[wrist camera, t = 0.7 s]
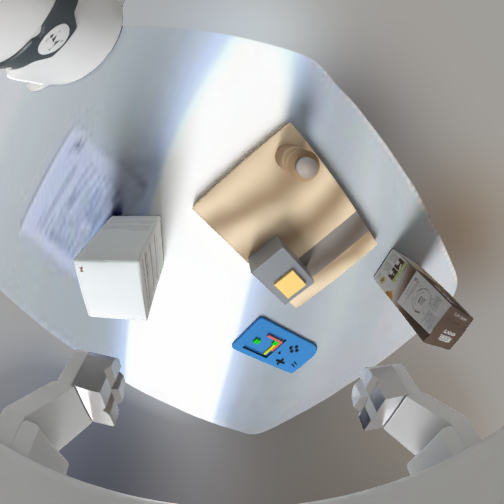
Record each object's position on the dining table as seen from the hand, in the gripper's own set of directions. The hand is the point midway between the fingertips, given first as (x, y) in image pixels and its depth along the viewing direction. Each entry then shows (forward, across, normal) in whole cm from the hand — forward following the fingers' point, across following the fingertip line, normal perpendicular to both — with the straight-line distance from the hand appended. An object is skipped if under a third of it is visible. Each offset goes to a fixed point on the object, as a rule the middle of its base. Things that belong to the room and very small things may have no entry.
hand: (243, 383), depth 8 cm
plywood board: (+30, -8, +3) cm, 31 cm away
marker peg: (+28, -6, -6) cm, 29 cm away
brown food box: (+32, -29, +10) cm, 44 cm away
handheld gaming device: (+32, -10, +26) cm, 43 cm away
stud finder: (+29, -7, +8) cm, 31 cm away
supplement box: (+29, +13, +7) cm, 33 cm away
